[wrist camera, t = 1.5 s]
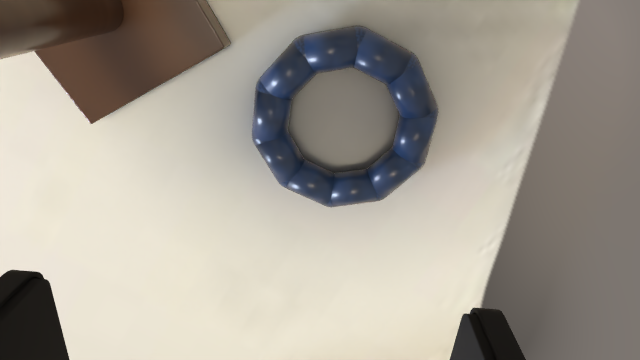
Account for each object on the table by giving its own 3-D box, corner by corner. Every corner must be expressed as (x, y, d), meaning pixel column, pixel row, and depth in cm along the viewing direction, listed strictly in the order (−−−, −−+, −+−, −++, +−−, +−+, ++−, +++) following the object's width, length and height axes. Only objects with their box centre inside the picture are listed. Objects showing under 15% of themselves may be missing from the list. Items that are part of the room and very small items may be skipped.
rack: (126, -136, 20) (-107, -261, 9) (231, 43, 23) (145, 98, 13) (-11, -35, 22) (-326, -46, 11) (103, 116, 25) (-61, 215, 15)
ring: (385, -13, 22) (390, -12, 20) (456, 156, 25) (466, 170, 24) (221, 77, 24) (212, 86, 22) (309, 220, 28) (307, 238, 26)
